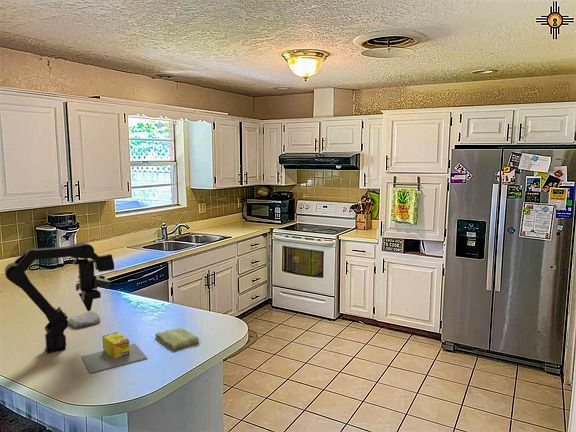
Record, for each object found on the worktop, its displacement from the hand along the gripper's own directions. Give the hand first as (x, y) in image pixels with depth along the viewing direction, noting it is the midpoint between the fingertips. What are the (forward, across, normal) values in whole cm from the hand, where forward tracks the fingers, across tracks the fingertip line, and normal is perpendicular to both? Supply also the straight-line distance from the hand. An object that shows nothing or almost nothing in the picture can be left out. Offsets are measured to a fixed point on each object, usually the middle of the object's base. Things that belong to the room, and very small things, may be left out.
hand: (88, 310), depth 178 cm
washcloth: (+14, -20, -29) cm, 38 cm away
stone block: (+14, +23, -2) cm, 27 cm away
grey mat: (+13, -22, -4) cm, 26 cm away
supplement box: (+10, -13, -5) cm, 17 cm away
